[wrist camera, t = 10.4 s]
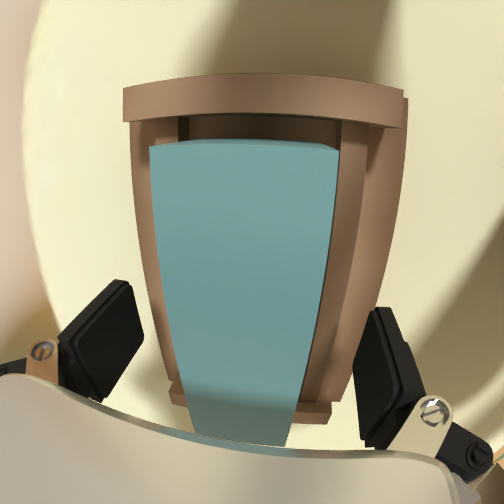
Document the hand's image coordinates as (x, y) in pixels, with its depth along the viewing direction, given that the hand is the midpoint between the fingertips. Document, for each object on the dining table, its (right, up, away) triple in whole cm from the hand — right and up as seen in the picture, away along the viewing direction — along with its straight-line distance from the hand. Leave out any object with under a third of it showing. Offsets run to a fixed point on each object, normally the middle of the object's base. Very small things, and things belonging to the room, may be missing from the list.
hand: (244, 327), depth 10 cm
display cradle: (+1, +3, +6) cm, 6 cm away
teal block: (+1, +1, +3) cm, 3 cm away
